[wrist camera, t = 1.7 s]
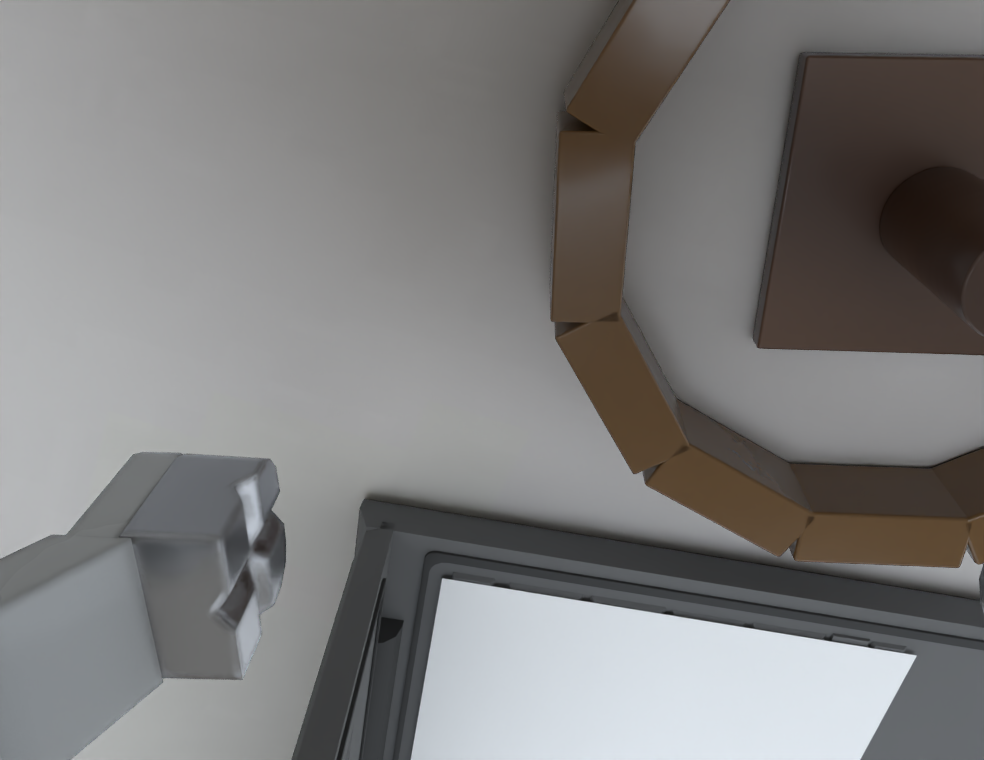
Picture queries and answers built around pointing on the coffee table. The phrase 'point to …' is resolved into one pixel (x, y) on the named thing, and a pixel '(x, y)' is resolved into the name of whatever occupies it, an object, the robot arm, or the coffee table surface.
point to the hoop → (638, 378)
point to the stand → (879, 208)
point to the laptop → (629, 654)
